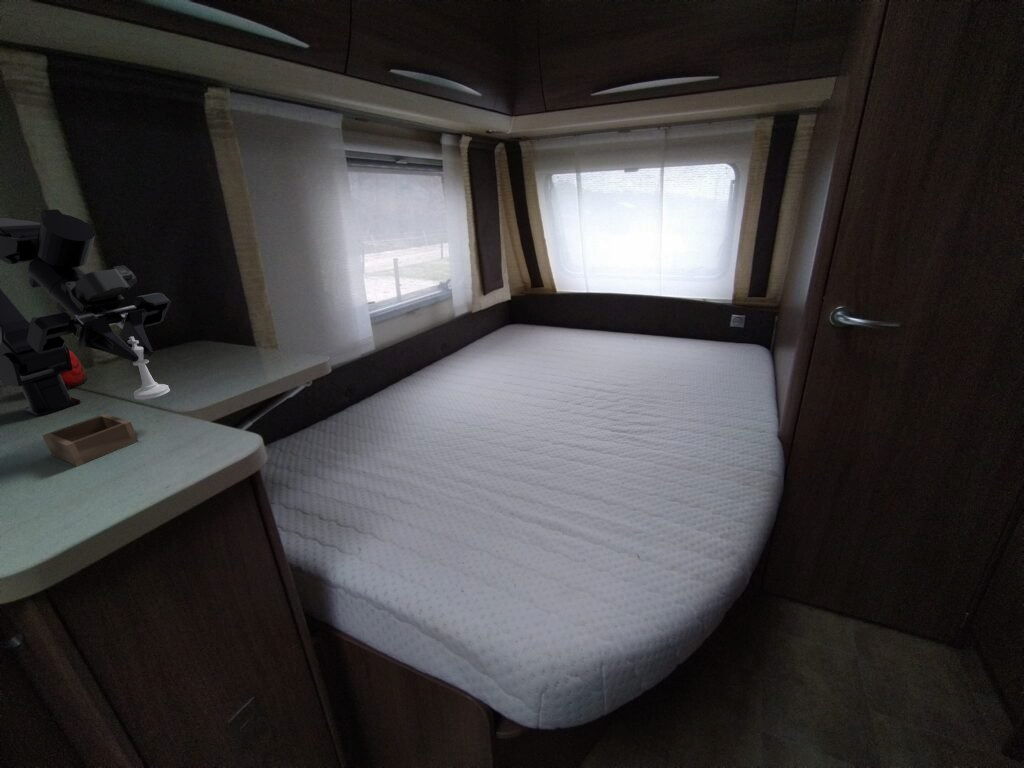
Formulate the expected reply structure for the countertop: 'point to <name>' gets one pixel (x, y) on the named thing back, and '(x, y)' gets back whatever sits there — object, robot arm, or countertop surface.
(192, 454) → the countertop surface
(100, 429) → the walnut collar
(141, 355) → the chess piece
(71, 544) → the countertop surface
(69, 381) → the red clay folk toy
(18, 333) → the robot arm
